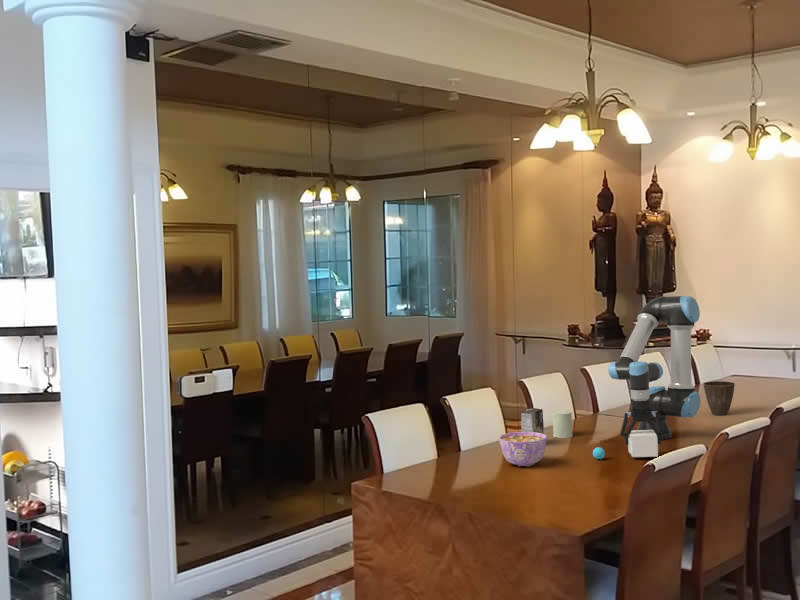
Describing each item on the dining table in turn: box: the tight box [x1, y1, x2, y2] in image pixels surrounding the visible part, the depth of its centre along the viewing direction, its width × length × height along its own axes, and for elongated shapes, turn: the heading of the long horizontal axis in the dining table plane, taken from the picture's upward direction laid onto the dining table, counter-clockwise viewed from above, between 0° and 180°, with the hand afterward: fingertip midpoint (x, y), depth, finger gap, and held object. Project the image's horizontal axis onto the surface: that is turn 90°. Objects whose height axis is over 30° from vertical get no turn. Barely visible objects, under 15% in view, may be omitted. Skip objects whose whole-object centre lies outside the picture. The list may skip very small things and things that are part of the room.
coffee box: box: [520, 407, 545, 434], centre depth 370 cm, size 9×6×16 cm
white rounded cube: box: [629, 429, 659, 458], centre depth 336 cm, size 10×10×9 cm
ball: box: [592, 446, 606, 460], centre depth 337 cm, size 5×5×5 cm
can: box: [551, 409, 574, 439], centre depth 385 cm, size 9×9×12 cm
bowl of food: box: [498, 431, 548, 467], centre depth 336 cm, size 20×20×12 cm
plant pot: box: [703, 380, 736, 417], centre depth 414 cm, size 15×15×16 cm
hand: (643, 451), depth 336 cm, fingers closed on white rounded cube, 10 cm apart
